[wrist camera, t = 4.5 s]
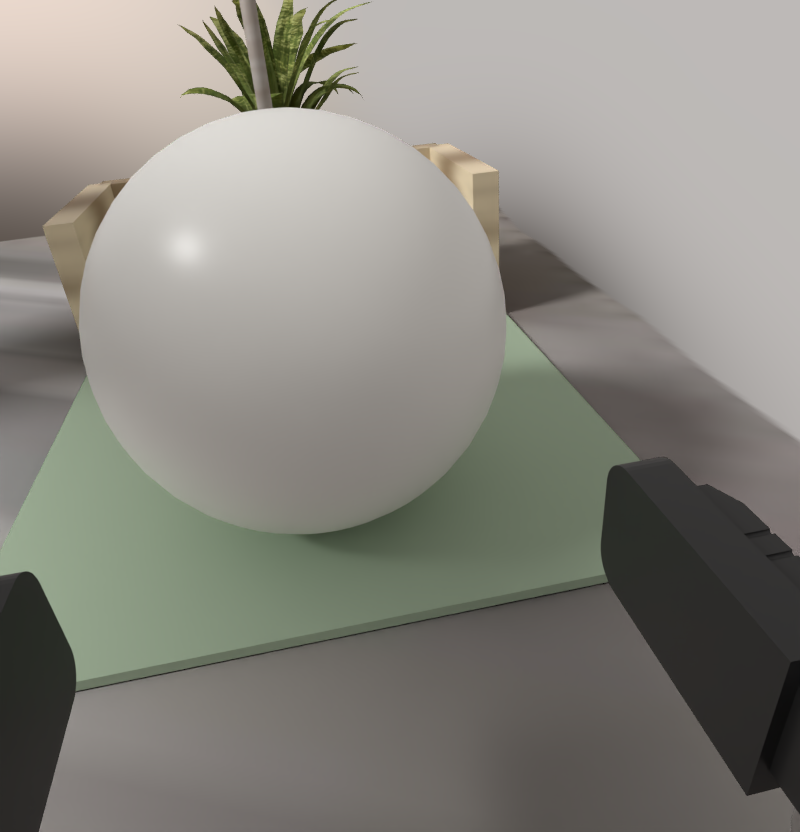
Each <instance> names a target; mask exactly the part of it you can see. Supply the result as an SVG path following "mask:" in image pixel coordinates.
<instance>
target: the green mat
mask: <svg viewBox="0 0 800 832" xmlns="http://www.w3.org/2000/svg"><path fill="white" fill-rule="evenodd" d="M636 461H641V460H640V459H639V458H638V457H637V456H636V455H635V454H634V453H633V452H632V450H631V449H630V448H629V447H628V446H627V445H626V444H625V443H624V442H623V441H622V440H621V438H620V437H619V436H618V435H617V434H616V433H615V432H614V431H613V430H612V429H611V428H610V426H609V425H608V424H607V423H606V422H605V421H604V420H603V419H602V418H601V417H600V416H599V414H598V413H597V412H596V411H595V410H594V409H593V408H592V407H591V406H590V405H589V404H588V402H587V401H586V400H585V399H584V398H583V397H582V396H581V395H580V394H579V393H578V392H577V390H576V389H575V388H574V387H573V386H572V385H571V384H570V383H569V382H568V381H567V380H566V378H565V377H564V376H563V375H562V374H561V373H560V372H559V371H558V370H557V369H556V368H555V366H554V365H553V364H552V363H551V362H550V361H549V360H548V359H547V358H546V357H545V356H544V354H543V353H542V352H541V351H540V350H539V349H538V348H537V347H536V346H535V345H534V344H533V342H532V341H531V340H530V339H529V338H528V337H527V336H526V335H525V334H524V333H523V332H522V330H521V329H520V328H519V327H518V326H517V325H516V324H515V323H514V322H513V321H512V320H511V318H510V317H509V316H508V315H507V314H506V343H505V357H504V361H503V366H502V370H501V375H500V379H499V383H498V386H497V389H496V393H495V395H494V398H493V401H492V403H491V406H490V408H489V411H488V413H487V416H486V417H485V419H484V421H483V423H482V424H481V426H480V428H479V429H478V431H477V433H476V435H475V436H474V438H473V440H472V441H471V443H470V445H469V447H468V448H467V449H466V450H465V451H464V453H463V454H462V455H461V456H460V457H459V459H458V460H457V461H456V462H455V463H454V464H453V466H452V467H451V468H450V469H449V470H448V472H447V473H446V474H445V475H444V476H442V477H441V478H440V479H439V480H438V481H437V482H436V483H434V484H433V485H432V486H431V487H430V488H428V489H427V490H426V491H425V492H423V493H422V494H421V495H420V496H418V497H417V498H415V499H414V500H412V501H411V502H409V503H408V504H406V505H404V506H402V507H401V508H399V509H397V510H395V511H393V512H391V513H389V514H386V515H384V516H382V517H379V518H377V519H375V520H372V521H370V522H367V523H364V524H361V525H358V526H355V527H352V528H347V529H343V530H338V531H333V532H326V533H319V534H276V533H268V532H260V531H255V530H251V529H246V528H242V527H239V526H236V525H233V524H230V523H227V522H224V521H221V520H218V519H216V518H213V517H210V516H208V515H206V514H204V513H202V512H200V511H199V510H197V509H195V508H193V507H191V506H190V505H188V504H186V503H184V502H182V501H181V500H179V499H177V498H175V497H174V496H173V495H172V494H170V493H169V492H168V491H167V490H165V489H164V488H163V487H162V486H161V485H159V484H158V483H157V482H156V481H154V480H153V479H152V478H151V477H149V476H148V475H147V474H146V473H145V472H144V471H143V470H142V469H141V468H140V467H139V466H138V465H137V463H136V462H135V461H134V460H133V459H132V458H131V457H130V456H129V454H128V453H127V452H126V451H125V449H124V448H123V447H122V445H121V444H120V443H119V441H118V440H117V438H116V437H115V435H114V434H113V432H112V430H111V429H110V427H109V426H108V424H107V423H106V421H105V419H104V417H103V415H102V413H101V410H100V408H99V406H98V404H97V401H96V399H95V397H94V395H93V392H92V389H91V386H90V384H89V380H88V376H86V378H85V380H84V382H83V384H82V386H81V388H80V390H79V392H78V394H77V396H76V398H75V400H74V402H73V404H72V406H71V408H70V410H69V412H68V414H67V416H66V418H65V420H64V422H63V424H62V426H61V428H60V430H59V432H58V434H57V436H56V438H55V440H54V443H53V445H52V447H51V449H50V451H49V453H48V455H47V457H46V459H45V461H44V463H43V465H42V467H41V469H40V471H39V473H38V475H37V477H36V479H35V481H34V483H33V485H32V487H31V489H30V491H29V493H28V495H27V497H26V499H25V501H24V503H23V505H22V507H21V509H20V511H19V514H18V516H17V518H16V520H15V522H14V524H13V526H12V528H11V530H10V532H9V534H8V536H7V538H6V540H5V542H4V544H3V546H2V548H1V550H0V576H2V575H8V574H13V573H19V572H24V571H29V572H31V573H32V574H34V575H35V576H36V578H37V579H38V581H39V583H40V584H41V586H42V589H43V591H44V593H45V595H46V597H47V599H48V601H49V603H50V605H51V607H52V609H53V611H54V614H55V616H56V618H57V620H58V622H59V624H60V626H61V628H62V630H63V632H64V634H65V636H66V639H67V641H68V643H69V645H70V647H71V649H72V652H73V655H74V660H75V666H76V691H79V690H84V689H89V688H94V687H99V686H104V685H109V684H113V683H118V682H123V681H128V680H133V679H138V678H143V677H148V676H152V675H157V674H162V673H167V672H172V671H177V670H182V669H186V668H191V667H196V666H201V665H206V664H211V663H216V662H221V661H225V660H230V659H235V658H240V657H245V656H250V655H255V654H260V653H264V652H269V651H274V650H279V649H284V648H289V647H294V646H299V645H303V644H308V643H313V642H318V641H323V640H328V639H333V638H338V637H342V636H347V635H352V634H357V633H362V632H367V631H372V630H377V629H381V628H386V627H391V626H396V625H401V624H406V623H411V622H416V621H420V620H425V619H430V618H435V617H440V616H445V615H450V614H455V613H459V612H464V611H469V610H474V609H479V608H484V607H489V606H494V605H498V604H503V603H508V602H513V601H518V600H523V599H528V598H533V597H537V596H542V595H547V594H552V593H557V592H562V591H567V590H572V589H576V588H581V587H586V586H591V585H596V584H601V583H606V582H608V580H607V577H606V574H605V571H604V568H603V564H602V559H601V536H602V525H603V515H604V505H605V495H606V485H607V477H608V473H609V471H610V469H611V468H612V467H613V466H615V465H620V464H625V463H631V462H636Z"/></svg>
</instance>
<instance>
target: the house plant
mask: <svg viewBox="0 0 800 832" xmlns="http://www.w3.org/2000/svg"><path fill="white" fill-rule="evenodd" d="M334 1H336V0H333V1H331V2H329V3H328V4H327V5H326V6H324V7H323V8H322V9H321V10H320V11H319V12H318V14H317V15H316V17H315V18H314V20H313V21H312V23H311V26H310V27H309V30H308V32H307V33H306V35H305V36H304V38H303V40H302V42H301V45H300V41H301V38H302V35H303V27H302V18H303V16H304V14H305V12H306V10H305V9H306V8H305V9H302V10H300V11H299V12H297V13H296V14H295V15H294V16H293V0H284V1H283V6H282V9H281V12H280V15H279V18H278V21H277V25H276V30H275V36H274V43H273V49H272V46H271V41H270V37H269V33H268V30H267V26H266V23H265V20H264V18H263V15H262V13H261V11H260V9H259V7H258V5H257V3H256V7H257V13H258V19H259V26H260V32H261V38H262V44H263V51H264V57H265V63H266V69H267V75H268V82H269V88H270V94H271V100H272V107H273V108H284V107H293V108H300V105H301V101H302V99H303V96H304V93H305V92H306V90H307V89H308V88H309V87H310V86H311V85H313V84H316V83H320V84H323V86H322V87H320V88H318V89H316V90H315V91H314V92H313V93H312V94H310V95H309V96H308V98H307V99H306V100H305V102H304V103H303V105H302V107H301V108H304V109H315V107H316V105H317V104H318V102H319V100H320V99H321V97H322V96H323V95H324V94H325V95H324V96H323V98H322V99H321V101H320V103H319V104H318V106H317V107H316V109H315V110H319V109H320V107H321V106H322V105H323V103H324V102H325V101H326V99H327V98H328V96H329V95H330V93H331V91H332V90H333V89H334V90H335V91H336V92H337V90H336V88H345V89H349V90H350V89H351V90H353V91H355V92H357V93H358V94H360V93H359V92H358V91H357V90H356V89H355V88H353V87H351V86H348V85H345V84H337V83H338V81H339V80H340V79H342V78H343V77H345V76H348V75H351V74H348V75H345V76H343V77H340V78H338V79H337V80H336V81H335V82H333V81H334V80H335V79H336V78H337V77H338V76H339V75H340V74H341V73H342V72H343V71H345V70H348V69H352V68H347V69H344V70H341V71H338V72H336V73H335V74H334V75H332V76H331V77H330V78H329V79H328V80H327V81H321V82H309V79H310V76H311V73H312V71H313V68H314V65H315V63H316V62H317V61H319V60H321V59H323V58H324V57H326V56H328V55H329V54H331V53H334V52H337V51H340V50H343V49H346V48H348V47H350V46H352V45H353V44H355V43H353V44H346V45H338V46H334V47H330V48H326V49H323V50H322V48H323V47H324V45H325V43H326V42H327V40H328V38H329V37H330V36H331V35H332V33H333V32H334V31H335V30H336V29H337V28H338V27H339V26H340V25H342V24H343V23H345V22H348V21H353V20H356V19H352V20H351V19H350V20H344V21H341V22H339V23H337V24H335V25H334V26H333V27H331V28H330V29H329V30H328V32H327V33H326V34H325V35H324V36H323V38H322V40H321V41H320V43H319V45H318V47H317V49H316V51H315V53H312V54H310V53H311V51H312V49H313V48H314V46H315V44H316V43H317V41H318V40H319V38H320V37H321V36H322V34H323V33H324V32H325V30H326V29H327V28H328V27H329V26H330V25H331V24H332V23H333V22H334V21H335V20H336V19H337V18H338V17H339V16H340V15H342V14H343V13H344V12H346V11H348V10H350V9H353V8H355V7H358V6H361V5H364V4H367V3H364V4H360V5H357V6H354V7H351V8H348V9H346V10H344V11H342V12H340V13H338V14H337V15H335V16H334V17H332V18H331V19H330V20H326V21H322V22H320V23H318V24H317V22H318V20H319V17H320V15H321V14H322V13H323V11H324V10H325V9H326V7H327V6H329V5H330V4H331V3H332V2H334ZM232 2H233V3H234V4H235V5H236V11H237V16H238V18H239V21H240V23H241V25H242V27H243V29H244V26H243V20H242V14H241V8H240V2H239V0H233V1H232ZM368 3H369V2H368ZM215 11H216V15H217V18H218V19H216V18H213V17H210V18H211V20H212V21H213V23H214V25H215V26H216V28H217V30H218V32H219V34H220V36H221V37H222V39H223V41H224V43H225V45H226V47H227V50H228V51H227V50H226V48H225V47H224V45H223V44H222V43H221V42H220V40H219V39H218V38H217V37H216V36H215V34H214V33H213V32H212V31H211V29H210V28H209V27H208V26H207V25H206V24H205V23H204V22H203V23H204V25H205V27H206V29H207V31H208V32H209V34H210V36H211V37H212V39H213V41H214V43H215V45H216V46H217V48H218V50H219V51H220V52H221V54H222V55H223V56H224V57H223V56H222V55H221V54H220V53H219V52H218V51H217V50H215V49H214V48H213V47H212V46H211V45H210V44H209V43H207V42H206V41H205V40H204V39H203V38H201V37H200V36H199V35H197V34H195V33H194V32H192V31H190V30H188V29H186V28H184V27H182V26H181V27H182V28H183V29H184V30H185V31H186V32H187V33H189V34H190V35H192V36H193V37H195V38H196V39H197V40H198V41H199V42H200V43H201V45H202V46H203V47H204V48H205V49H206V50H207V51H208V52H209V53H210V54H211V55H212V56H213V57H214V58H215V59H217V60H218V61H219V63H221V64H222V66H223V67H224V68H225V69H226V70H227V72H228V73H229V74H230V76H231V77H232V78H233V80H234V81H235V83H236V84H237V86H238V87H239V89H240V90H241V91H242V95H243V96H237V97H235V98H233V99H230V98H229V97H227V96H226V95H223V94H221V93H219V92H217V91H214V90H212V89H208V88H204V87H202V88H193V89H189V90H188V91H186V92H185V93H184V94H182V95H185V94H191V93H193V94H194V93H198V94H207V95H211V96H215V97H218V98H221V99H223V100H226V101H228V102H230V103H231V104H232V105H233V106H235V107H236V108H237V109H238V110H239V111H241V112H247V111H253V110H258V108H257V102H256V96H255V90H254V84H253V79H252V73H251V67H250V61H249V55H248V49H247V47H246V46H245V44H244V42H243V40H242V39H241V38H240V37H239V36H238V35H237V34H236V33H235V32H234V31H233V30H231V28H230V27H229V25H228V24H227V22H226V21H225V20H224V19H223V17H222V15H221V13H220V12H219V11H218V10H217V9H216V7H215ZM324 22H327V23H326V24H325V25H324V26H322V28H321V29H320V30H319V31H318V32H317V34H316V35H315V36H314V38H313V39H312V41H311V43H310V44H309V45H308V43H309V41H310V39H311V36H312V33H313V31H314V29H315V26H317V25H319V24H321V23H324ZM299 45H300V48H299ZM307 46H308V47H307ZM298 48H299V51H298ZM306 48H307V49H306ZM305 50H306V51H305ZM228 52H229V53H228ZM297 52H298V55H297ZM309 54H310V55H309ZM296 56H297V59H296ZM295 60H296V62H295ZM308 67H309V69H308V71H307V74H306V77H305V79H304V82H303V84H301V85H300V86H299V87H298V88H297V89H296V90H295V92H294V89H295V85H296V83H297V80H298V78H299V75H300V73H301V72H302V71H303V70H305V69H306V68H308ZM354 68H355V67H354ZM352 74H356V73H352ZM332 82H333V83H332ZM351 90H350V91H351ZM293 92H294V94H293ZM351 92H352V91H351ZM337 94H338V92H337Z"/></svg>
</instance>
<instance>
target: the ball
mask: <svg viewBox="0 0 800 832" xmlns="http://www.w3.org/2000/svg"><path fill="white" fill-rule="evenodd" d="M79 334H80V343H81V351H82V358H83V362H84V365H85V369H86V373H87V376H88V380H89V384H90V386H91V389H92V392H93V395H94V397H95V399H96V401H97V404H98V406H99V408H100V410H101V413H102V415H103V417H104V419H105V421H106V423H107V424H108V426H109V427H110V429H111V430H112V432H113V434H114V435H115V437H116V438H117V440H118V441H119V443H120V444H121V445H122V447H123V448H124V449H125V451H126V452H127V453H128V454H129V456H130V457H131V458H132V459H133V460H134V461H135V462H136V463H137V465H138V466H139V467H140V468H141V469H142V470H143V471H144V472H145V473H146V474H147V475H148V476H149V477H151V478H152V479H153V480H154V481H156V482H157V483H158V484H159V485H161V486H162V487H163V488H164V489H165V490H167V491H168V492H169V493H170V494H172V495H173V496H174V497H175V498H177V499H179V500H181V501H182V502H184V503H186V504H188V505H190V506H191V507H193V508H195V509H197V510H199V511H200V512H202V513H204V514H206V515H208V516H210V517H213V518H216V519H218V520H221V521H224V522H227V523H230V524H233V525H236V526H239V527H242V528H246V529H251V530H255V531H260V532H268V533H276V534H319V533H326V532H333V531H338V530H343V529H347V528H352V527H355V526H358V525H361V524H364V523H367V522H370V521H372V520H375V519H377V518H379V517H382V516H384V515H386V514H389V513H391V512H393V511H395V510H397V509H399V508H401V507H402V506H404V505H406V504H408V503H409V502H411V501H412V500H414V499H415V498H417V497H418V496H420V495H421V494H422V493H423V492H425V491H426V490H427V489H428V488H430V487H431V486H432V485H433V484H434V483H436V482H437V481H438V480H439V479H440V478H441V477H442V476H444V475H445V474H446V473H447V472H448V470H449V469H450V468H451V467H452V466H453V464H454V463H455V462H456V461H457V460H458V459H459V457H460V456H461V455H462V454H463V453H464V451H465V450H466V449H467V448H468V447H469V445H470V443H471V441H472V440H473V438H474V436H475V435H476V433H477V431H478V429H479V428H480V426H481V424H482V423H483V421H484V419H485V417H486V416H487V413H488V411H489V408H490V406H491V403H492V401H493V398H494V395H495V393H496V389H497V386H498V383H499V379H500V375H501V370H502V366H503V361H504V357H505V343H506V308H505V294H504V290H503V285H502V280H501V276H500V271H499V267H498V264H497V262H496V259H495V256H494V253H493V251H492V248H491V245H490V242H489V240H488V237H487V235H486V233H485V231H484V229H483V227H482V225H481V223H480V222H479V220H478V218H477V216H476V214H475V212H474V210H473V209H472V208H471V206H470V205H469V203H468V202H467V201H466V199H465V198H464V197H463V195H462V194H461V192H460V191H459V190H458V188H457V187H456V186H455V185H454V184H453V183H452V182H451V181H450V180H449V179H448V178H447V177H446V176H445V175H444V174H443V172H442V171H441V170H440V169H439V168H438V167H437V166H436V165H435V164H434V163H433V162H431V161H430V160H429V159H428V158H426V157H425V156H424V155H422V154H421V153H420V152H419V151H417V150H416V149H415V148H414V147H412V146H411V145H409V144H408V143H406V142H404V141H403V140H400V139H399V138H397V137H396V136H394V135H392V134H390V133H389V132H387V131H385V130H383V129H381V128H378V127H376V126H374V125H371V124H368V123H366V122H364V121H361V120H359V119H356V118H353V117H348V116H344V115H341V114H337V113H333V112H328V111H325V110H315V109H304V108H293V107H284V108H269V109H260V110H253V111H247V112H242V113H238V114H235V115H232V116H228V117H225V118H222V119H219V120H216V121H213V122H210V123H207V124H205V125H203V126H201V127H199V128H197V129H195V130H193V131H191V132H189V133H187V134H185V135H183V136H181V137H179V138H178V139H176V140H175V141H174V142H172V143H171V144H169V145H168V146H167V147H165V148H164V149H162V150H161V151H159V152H158V153H157V154H155V155H154V156H153V157H152V158H151V159H150V160H149V161H148V162H147V163H146V164H145V165H144V166H143V167H142V168H140V169H139V170H138V171H137V172H136V173H135V174H134V175H133V176H132V177H131V178H130V179H129V181H128V182H127V183H126V185H125V186H124V187H123V189H122V190H121V191H120V193H119V194H118V195H117V197H116V198H115V199H114V201H113V202H112V204H111V206H110V208H109V209H108V211H107V213H106V215H105V217H104V219H103V220H102V222H101V224H100V226H99V228H98V230H97V232H96V234H95V237H94V239H93V242H92V245H91V248H90V251H89V253H88V256H87V259H86V263H85V268H84V273H83V278H82V283H81V289H80V309H79Z"/></svg>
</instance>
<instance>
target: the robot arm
mask: <svg viewBox="0 0 800 832" xmlns="http://www.w3.org/2000/svg"><path fill="white" fill-rule="evenodd" d="M601 559H602V564H603V568H604V571H605V574H606V577H607V580H608V582H609V584H610V586H611V588H612V589H613V591H614V592H615V594H616V595H617V597H618V599H619V600H620V602H621V603H622V605H623V606H624V608H625V609H626V611H627V612H628V614H629V615H630V617H631V619H632V620H633V622H634V623H635V625H636V626H637V628H638V629H639V631H640V632H641V634H642V635H643V637H644V639H645V640H646V642H647V643H648V645H649V646H650V648H651V649H652V651H653V652H654V654H655V655H656V657H657V658H658V660H659V662H660V663H661V665H662V666H663V668H664V669H665V671H666V672H667V674H668V675H669V677H670V678H671V680H672V682H673V683H674V685H675V686H676V688H677V689H678V691H679V692H680V694H681V695H682V697H683V698H684V700H685V701H686V703H687V705H688V706H689V708H690V709H691V711H692V712H693V714H694V715H695V717H696V718H697V720H698V721H699V723H700V725H701V726H702V728H703V729H704V731H705V732H706V734H707V735H708V737H709V738H710V740H711V741H712V743H713V745H714V746H715V748H716V749H717V751H718V752H719V754H720V755H721V757H722V758H723V760H724V761H725V763H726V764H727V766H728V768H729V769H730V771H731V772H732V774H733V775H734V777H735V778H736V780H737V781H738V783H739V784H740V786H741V788H742V789H743V791H744V792H745V794H746V795H747V796H748V795H752V794H756V793H760V792H764V791H768V790H772V789H775V788H779V787H781V788H782V790H783V791H784V793H785V794H786V795H787V797H788V798H789V800H790V801H791V803H792V804H793V805H794V807H795V809H794V811H793V814H792V818H791V832H800V557H799V556H794V555H793V553H792V549H791V548H790V547H789V546H787V545H786V544H785V543H784V542H783V541H782V540H781V539H780V538H779V537H778V536H777V535H776V534H771V533H770V528H769V527H768V526H766V525H765V524H764V523H763V522H762V521H761V520H760V519H759V518H758V517H757V516H756V515H755V514H754V513H753V512H752V511H751V510H750V509H749V508H748V507H747V506H746V505H744V504H743V503H742V502H740V501H738V500H736V499H734V498H732V497H730V496H728V495H727V494H725V493H723V492H721V491H719V490H717V489H715V488H713V487H712V486H710V485H708V484H706V485H701V486H696V485H695V484H694V483H693V482H692V481H691V480H690V479H689V478H688V477H687V476H686V475H685V474H684V473H683V472H682V471H681V470H680V469H679V468H678V467H677V466H676V465H675V464H674V463H673V462H672V461H671V460H670V459H668V458H666V457H658V458H653V459H647V460H642V461H636V462H631V463H625V464H620V465H615V466H613V467H612V468H611V469H610V471H609V473H608V477H607V485H606V495H605V505H604V515H603V525H602V536H601ZM75 691H76V666H75V660H74V655H73V652H72V649H71V647H70V645H69V643H68V641H67V639H66V636H65V634H64V632H63V630H62V628H61V626H60V624H59V622H58V620H57V618H56V616H55V614H54V611H53V609H52V607H51V605H50V603H49V601H48V599H47V597H46V595H45V593H44V591H43V589H42V586H41V584H40V583H39V581H38V579H37V578H36V576H35V575H34V574H32V573H31V572H29V571H24V572H19V573H13V574H8V575H2V576H0V832H39V828H40V824H41V821H42V817H43V813H44V810H45V806H46V802H47V798H48V795H49V791H50V787H51V783H52V780H53V776H54V772H55V768H56V765H57V761H58V757H59V753H60V750H61V746H62V742H63V738H64V735H65V731H66V727H67V723H68V720H69V716H70V712H71V709H72V705H73V701H74V697H75Z"/></svg>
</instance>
